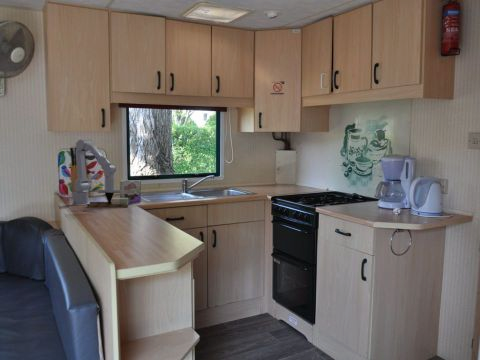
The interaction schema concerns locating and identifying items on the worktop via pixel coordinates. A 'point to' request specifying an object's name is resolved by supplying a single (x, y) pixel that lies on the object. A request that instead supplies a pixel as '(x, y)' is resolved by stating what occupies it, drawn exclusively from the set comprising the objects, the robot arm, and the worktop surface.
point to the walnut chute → (106, 204)
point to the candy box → (131, 190)
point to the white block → (115, 200)
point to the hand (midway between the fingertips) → (109, 204)
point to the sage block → (123, 200)
